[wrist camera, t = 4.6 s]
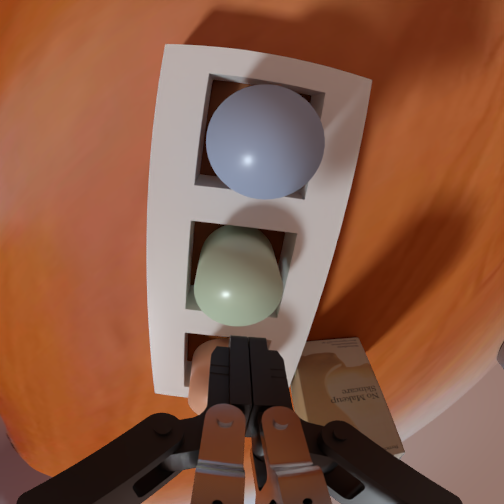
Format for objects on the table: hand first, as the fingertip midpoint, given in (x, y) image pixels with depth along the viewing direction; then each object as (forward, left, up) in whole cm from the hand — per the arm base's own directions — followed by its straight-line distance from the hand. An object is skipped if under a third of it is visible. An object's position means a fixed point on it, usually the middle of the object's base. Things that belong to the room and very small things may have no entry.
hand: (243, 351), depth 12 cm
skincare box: (-9, +9, -10) cm, 16 cm away
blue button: (0, -8, -7) cm, 11 cm away
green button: (0, 0, -8) cm, 8 cm away
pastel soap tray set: (0, 0, -9) cm, 9 cm away
